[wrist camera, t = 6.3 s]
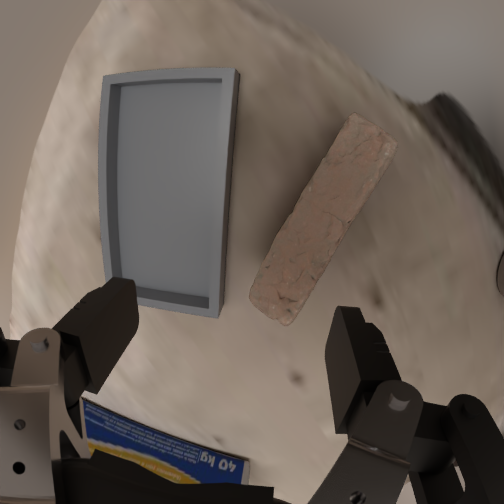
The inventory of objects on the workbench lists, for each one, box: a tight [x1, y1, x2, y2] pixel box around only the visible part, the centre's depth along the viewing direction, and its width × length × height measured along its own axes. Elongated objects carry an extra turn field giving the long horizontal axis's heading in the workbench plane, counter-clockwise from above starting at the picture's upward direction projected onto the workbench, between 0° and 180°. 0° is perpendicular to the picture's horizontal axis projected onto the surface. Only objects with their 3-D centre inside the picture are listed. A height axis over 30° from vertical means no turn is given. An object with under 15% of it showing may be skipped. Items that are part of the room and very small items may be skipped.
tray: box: [98, 68, 240, 318], centre depth 29 cm, size 13×24×3 cm, turn 175°
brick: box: [249, 113, 398, 326], centre depth 25 cm, size 16×8×5 cm
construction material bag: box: [83, 400, 250, 485], centre depth 33 cm, size 43×12×30 cm, turn 73°
